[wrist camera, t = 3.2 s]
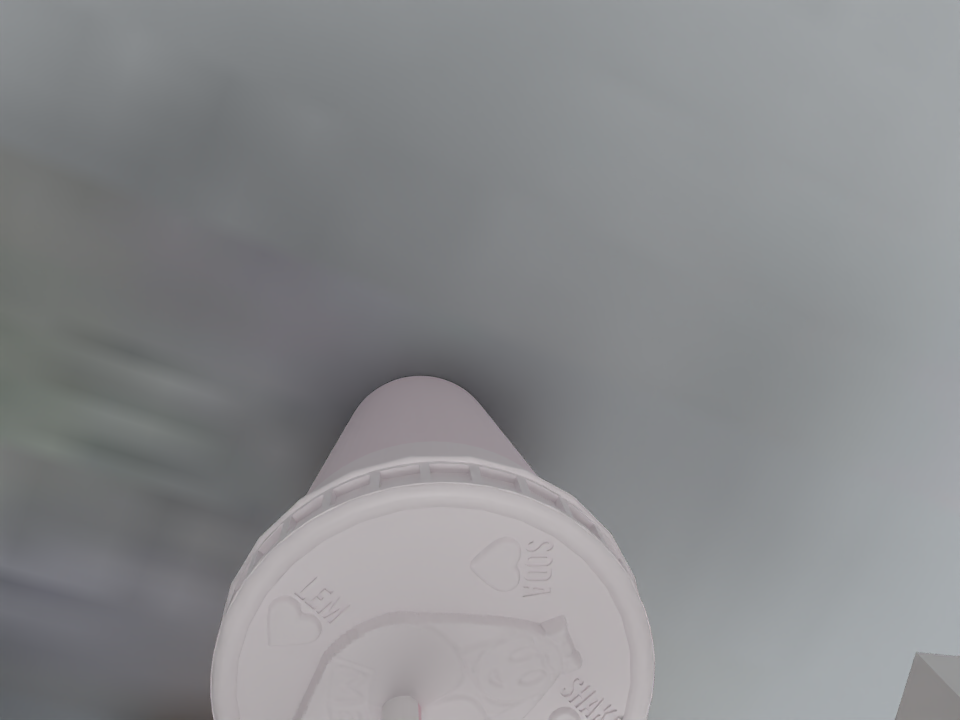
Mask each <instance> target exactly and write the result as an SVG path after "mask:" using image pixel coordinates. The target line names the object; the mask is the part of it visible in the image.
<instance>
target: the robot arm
mask: <svg viewBox="0 0 960 720" xmlns="http://www.w3.org/2000/svg"><path fill="white" fill-rule="evenodd" d="M895 720H960V656H952V655H941V654H931V653H920V652H916V654H915V657H914V660H913V664H912V667H911V670H910V673H909V676H908V680H907V683H906V686H905V689H904V692H903V696H902V699H901V702H900V705H899V708H898V712H897V715H896V718H895Z"/></svg>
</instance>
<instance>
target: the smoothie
mask: <svg viewBox="0 0 960 720" xmlns="http://www.w3.org/2000/svg"><path fill="white" fill-rule="evenodd" d="M654 678H655V655H654V643H653V638H652V632H651V627H650V623H649V620H648V617H647V613H646V610H645V607H644V605H643V603H642V600H641V598H640V596H639V593H638V588H637V583H636V579H635V576H634V574H633V572H632V571H631V569H630V567H629V565H628V563H627V561H626V560H625V558H624V556H623V554H622V552H621V550H620V549H619V547H618V545H617V543H616V541H615V539H614V538H613V536H612V534H611V533H610V532H609V531H608V530H607V529H606V528H605V527H604V526H603V525H602V524H601V523H600V522H599V521H598V520H597V519H596V518H595V517H594V516H593V515H592V514H591V513H590V512H589V511H588V510H587V509H586V508H585V507H584V506H583V505H582V504H581V503H580V502H579V501H578V500H577V499H576V498H575V497H574V496H573V495H571V494H569V493H567V492H565V491H564V490H562V489H560V488H558V487H556V486H554V485H553V484H551V483H549V482H547V481H545V480H544V479H542V478H540V477H538V476H537V475H536V473H535V472H534V471H533V470H532V468H531V467H530V466H529V465H528V463H527V462H526V461H525V460H524V458H523V457H522V456H521V455H520V453H519V452H518V451H517V450H516V448H515V447H514V446H513V445H512V443H511V442H510V441H509V440H508V438H507V437H506V436H505V435H504V433H503V432H502V431H501V430H500V428H499V427H498V426H497V425H496V423H495V422H494V421H493V420H492V418H491V417H490V416H489V415H488V413H487V412H486V411H485V410H484V408H483V407H482V406H481V405H480V403H479V402H478V401H477V400H476V399H475V398H474V397H473V396H472V395H471V394H470V393H469V392H467V391H466V390H465V389H463V388H462V387H460V386H458V385H456V384H454V383H452V382H450V381H447V380H444V379H441V378H437V377H431V376H410V377H404V378H400V379H397V380H394V381H391V382H389V383H386V384H384V385H382V386H381V387H379V388H377V389H376V390H374V391H373V392H372V393H371V394H369V395H368V396H367V397H366V398H365V399H364V400H363V401H362V402H361V403H360V405H359V406H358V407H357V409H356V410H355V412H354V413H353V415H352V417H351V419H350V420H349V422H348V424H347V425H346V427H345V429H344V431H343V432H342V434H341V436H340V437H339V439H338V441H337V442H336V444H335V446H334V448H333V449H332V451H331V453H330V454H329V456H328V458H327V460H326V461H325V463H324V465H323V466H322V468H321V470H320V472H319V473H318V475H317V477H316V478H315V480H314V482H313V484H312V485H311V487H310V489H309V490H308V492H307V494H306V496H304V497H302V498H300V499H299V500H298V501H297V502H296V503H295V504H294V505H293V506H292V507H291V508H290V509H289V510H288V511H287V512H286V513H285V514H283V515H282V516H281V517H280V518H279V519H278V520H277V521H276V522H275V523H274V524H273V525H272V526H271V527H270V528H269V529H267V530H266V531H265V532H264V533H263V534H262V535H261V536H260V537H259V538H258V540H257V542H256V543H255V545H254V547H253V548H252V550H251V552H250V553H249V555H248V557H247V558H246V560H245V561H244V563H243V565H242V566H241V568H240V570H239V571H238V573H237V575H236V576H235V578H234V580H233V581H232V583H231V585H230V589H229V593H228V596H227V600H226V604H225V608H224V612H223V616H222V620H221V624H220V628H219V631H218V636H217V640H216V644H215V648H214V652H213V657H212V665H211V674H210V698H211V707H212V715H213V719H214V720H646V719H647V716H648V712H649V708H650V704H651V701H652V694H653V687H654Z"/></svg>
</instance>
